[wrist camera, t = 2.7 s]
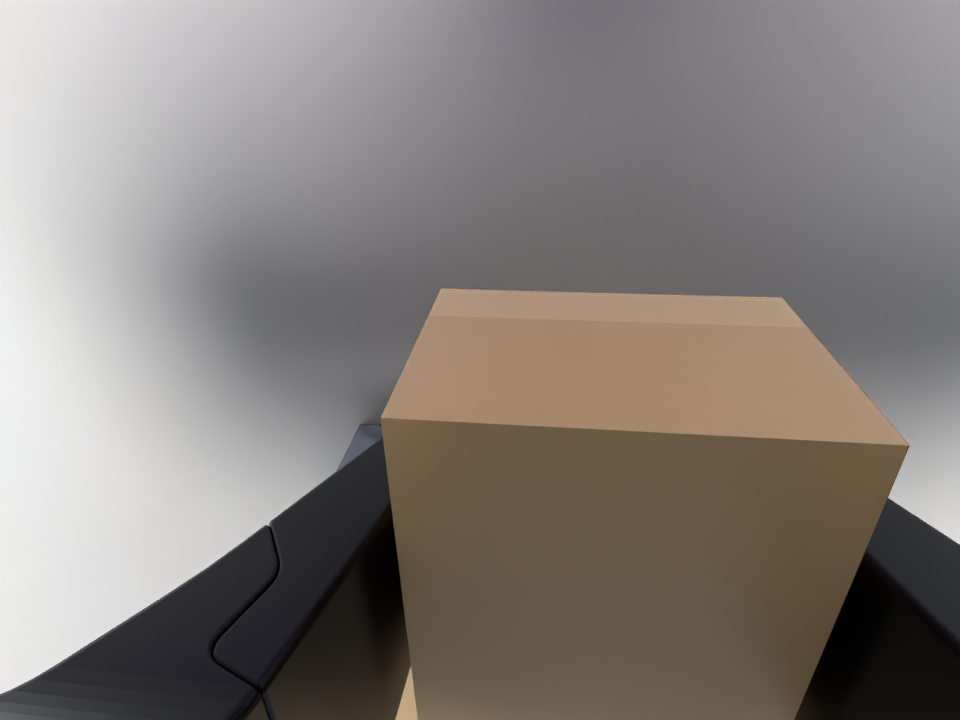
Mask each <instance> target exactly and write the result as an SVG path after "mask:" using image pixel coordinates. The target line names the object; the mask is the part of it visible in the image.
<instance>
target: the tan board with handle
mask: <svg viewBox="0 0 960 720" xmlns="http://www.w3.org/2000/svg"><path fill="white" fill-rule="evenodd" d="M380 419H381V427H382V435H383V443H384V451H385V459H386V467H387V475H388V483H389V492H390V500H391V508H392V516H393V524H394V532H395V540H396V548H397V556H398V564H399V572H400V581H401V589H402V597H403V605H404V613H405V621H406V629H407V637H408V645H409V653H410V661H411V667H410V670H409V674H408V677H407V681H406V684H405V688H404V691H403V695H402V698H401V702H400V705H399V709H398V712H397V716H396V719H395V720H794V719H795V716H796V714H797V712H798V709H799V707H800V705H801V702H802V700H803V697H804V695H805V693H806V690H807V688H808V686H809V683H810V681H811V678H812V676H813V674H814V671H815V669H816V667H817V664H818V662H819V659H820V657H821V655H822V652H823V650H824V648H825V645H826V643H827V641H828V638H829V636H830V633H831V631H832V629H833V626H834V624H835V622H836V619H837V617H838V614H839V612H840V610H841V607H842V605H843V603H844V600H845V598H846V595H847V593H848V591H849V588H850V586H851V584H852V581H853V579H854V576H855V574H856V572H857V569H858V567H859V565H860V562H861V560H862V557H863V555H864V553H865V550H866V548H867V546H868V543H869V541H870V538H871V536H872V534H873V531H874V529H875V527H876V524H877V522H878V519H879V517H880V515H881V512H882V510H883V508H884V505H885V503H886V501H887V498H888V496H889V493H890V491H891V489H892V486H893V484H894V482H895V479H896V477H897V474H898V472H899V470H900V467H901V465H902V463H903V460H904V458H905V455H906V453H907V451H908V448H909V446H910V445H909V444H908V443H907V442H906V441H905V440H904V438H903V437H902V436H901V435H900V434H899V433H898V431H897V430H896V429H895V428H894V427H893V426H892V424H891V423H890V422H889V421H888V420H887V419H886V417H885V416H884V415H883V414H882V413H881V412H880V411H879V409H878V408H877V407H876V406H875V405H874V404H873V402H872V401H871V400H870V399H869V398H868V397H867V395H866V394H865V393H864V392H863V391H862V390H861V388H860V387H859V386H858V385H857V384H856V383H855V381H854V380H853V379H852V378H851V377H850V376H849V375H848V373H847V372H846V371H845V370H844V369H843V368H842V366H841V365H840V364H839V363H838V362H837V361H836V359H835V358H834V357H833V356H832V355H831V354H830V352H829V351H828V350H827V349H826V348H825V347H824V345H823V344H822V343H821V342H820V341H819V340H818V338H817V337H816V336H815V335H814V334H813V333H812V332H811V330H810V329H809V328H808V327H807V326H806V325H805V323H804V322H803V321H802V320H801V319H800V318H799V316H798V315H797V314H796V313H795V312H794V311H793V309H792V308H791V307H790V306H789V305H788V304H787V302H786V301H785V300H784V299H783V298H782V297H744V296H706V295H668V294H630V293H593V292H555V291H517V290H479V289H440V291H439V293H438V296H437V298H436V300H435V302H434V304H433V306H432V308H431V311H430V313H429V315H428V317H427V319H426V321H425V323H424V326H423V328H422V330H421V332H420V334H419V336H418V338H417V341H416V343H415V345H414V347H413V349H412V351H411V353H410V356H409V358H408V360H407V362H406V364H405V366H404V368H403V371H402V373H401V375H400V377H399V379H398V381H397V383H396V386H395V388H394V390H393V392H392V394H391V396H390V398H389V401H388V403H387V405H386V407H385V409H384V411H383V413H382V416H381V418H380Z"/></svg>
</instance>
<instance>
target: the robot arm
mask: <svg viewBox="0 0 960 720" xmlns="http://www.w3.org/2000/svg"><path fill="white" fill-rule="evenodd" d="M410 667H411V661H410V653H409V645H408V637H407V629H406V621H405V613H404V605H403V597H402V589H401V581H400V572H399V564H398V556H397V548H396V540H395V532H394V524H393V516H392V508H391V500H390V492H389V483H388V475H387V467H386V459H385V451H384V443H383V437H382V438H380V439H379V440H378V441H376V442H375V443H374V444H372V445H371V446H370V447H368V448H367V449H366V450H364V451H363V452H362V453H360V454H359V455H358V456H356V457H355V458H354V459H352V460H351V461H350V462H348V463H347V464H346V465H344V466H343V467H342V468H341V469H339V470H338V471H337V472H335V473H334V474H333V475H331V476H330V477H329V478H327V479H326V480H325V481H323V482H322V483H321V484H319V485H318V486H317V487H315V488H314V489H313V490H311V491H310V492H309V493H307V494H306V495H305V496H303V497H302V498H301V499H300V500H298V501H297V502H296V503H294V504H293V505H292V506H290V507H289V508H288V509H286V510H285V511H284V512H282V513H281V514H280V515H278V516H277V517H276V518H274V519H273V520H272V521H271V522H270V526H268V525H265V526H263V527H262V528H261V529H259V530H258V531H257V532H256V533H254V534H253V535H252V536H250V537H249V538H248V539H246V540H245V541H244V542H242V543H241V544H239V545H238V546H237V547H235V548H234V549H233V550H231V551H230V552H228V553H227V554H226V555H224V556H223V557H221V558H220V559H219V560H217V561H216V562H214V563H213V564H212V565H210V566H209V567H208V568H206V569H205V570H203V571H201V572H200V573H198V574H197V575H195V576H194V577H192V578H191V579H189V580H188V581H186V582H185V583H183V584H182V585H180V586H179V587H177V588H176V589H174V590H173V591H171V592H170V593H168V594H167V595H165V596H164V597H162V598H161V599H159V600H157V601H156V602H154V603H153V604H151V605H150V606H148V607H146V608H145V609H143V610H142V611H140V612H139V613H137V614H135V615H134V616H132V617H131V618H129V619H128V620H126V621H124V622H123V623H121V624H120V625H118V626H116V627H115V628H113V629H112V630H110V631H109V632H107V633H105V634H104V635H102V636H101V637H99V638H98V639H96V640H94V641H93V642H91V643H90V644H88V645H87V646H85V647H83V648H82V649H80V650H79V651H77V652H76V653H74V654H72V655H71V656H69V657H68V658H66V659H65V660H63V661H61V662H60V663H58V664H57V665H55V666H54V667H52V668H50V669H49V670H47V671H45V672H43V673H42V674H40V675H38V676H37V677H35V678H33V679H32V680H30V681H28V682H26V683H24V684H22V685H20V686H18V687H16V688H14V689H12V690H10V691H7V692H5V693H2V694H0V720H395V719H396V716H397V712H398V709H399V705H400V702H401V698H402V695H403V691H404V688H405V684H406V681H407V677H408V674H409V670H410ZM794 720H960V545H959V544H958V543H956V542H955V541H953V540H952V539H950V538H949V537H947V536H946V535H944V534H943V533H941V532H939V531H938V530H936V529H935V528H933V527H932V526H930V525H929V524H927V523H926V522H924V521H923V520H921V519H919V518H918V517H916V516H915V515H913V514H912V513H910V512H909V511H907V510H906V509H904V508H903V507H901V506H900V505H898V504H896V503H895V502H893V501H892V500H890V499H889V498H887V501H886V503H885V505H884V508H883V510H882V512H881V515H880V517H879V519H878V522H877V524H876V527H875V529H874V531H873V534H872V536H871V538H870V541H869V543H868V546H867V548H866V550H865V553H864V555H863V557H862V560H861V562H860V565H859V567H858V569H857V572H856V574H855V576H854V579H853V581H852V584H851V586H850V588H849V591H848V593H847V595H846V598H845V600H844V603H843V605H842V607H841V610H840V612H839V614H838V617H837V619H836V622H835V624H834V626H833V629H832V631H831V633H830V636H829V638H828V641H827V643H826V645H825V648H824V650H823V652H822V655H821V657H820V659H819V662H818V664H817V667H816V669H815V671H814V674H813V676H812V678H811V681H810V683H809V686H808V688H807V690H806V693H805V695H804V697H803V700H802V702H801V705H800V707H799V709H798V712H797V714H796V716H795V719H794Z"/></svg>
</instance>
